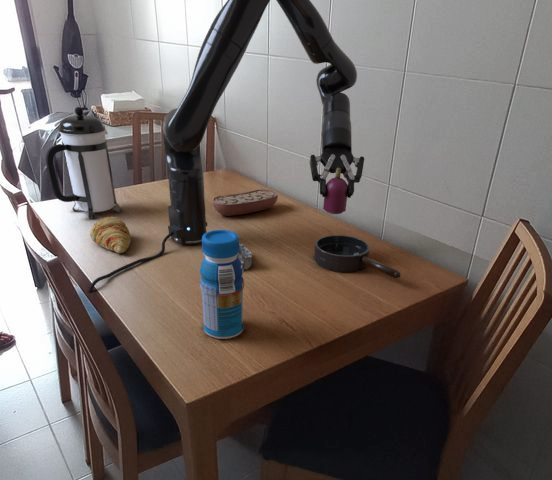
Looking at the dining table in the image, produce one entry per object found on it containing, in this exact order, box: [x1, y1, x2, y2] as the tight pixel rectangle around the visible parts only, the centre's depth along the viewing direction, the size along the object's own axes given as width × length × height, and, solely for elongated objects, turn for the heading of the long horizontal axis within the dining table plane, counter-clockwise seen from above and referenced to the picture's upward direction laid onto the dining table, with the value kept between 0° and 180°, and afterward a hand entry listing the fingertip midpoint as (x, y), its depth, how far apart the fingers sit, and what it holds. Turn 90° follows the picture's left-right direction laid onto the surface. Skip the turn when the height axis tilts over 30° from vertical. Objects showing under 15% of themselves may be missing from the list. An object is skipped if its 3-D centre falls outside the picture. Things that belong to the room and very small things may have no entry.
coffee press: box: [45, 106, 122, 220], centre depth 143 cm, size 17×16×30 cm
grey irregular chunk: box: [237, 243, 253, 270], centre depth 123 cm, size 11×8×4 cm
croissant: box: [89, 215, 132, 254], centre depth 131 cm, size 21×10×8 cm, turn 32°
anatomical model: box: [212, 188, 279, 217], centre depth 155 cm, size 23×10×5 cm, turn 124°
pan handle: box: [361, 257, 401, 279], centre depth 117 cm, size 12×2×2 cm, turn 40°
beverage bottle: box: [199, 229, 245, 340], centre depth 92 cm, size 8×8×20 cm
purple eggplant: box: [322, 168, 348, 215], centre depth 120 cm, size 6×6×11 cm
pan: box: [313, 234, 371, 273], centre depth 126 cm, size 14×14×4 cm
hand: (336, 195), depth 120 cm, fingers closed on purple eggplant, 6 cm apart
